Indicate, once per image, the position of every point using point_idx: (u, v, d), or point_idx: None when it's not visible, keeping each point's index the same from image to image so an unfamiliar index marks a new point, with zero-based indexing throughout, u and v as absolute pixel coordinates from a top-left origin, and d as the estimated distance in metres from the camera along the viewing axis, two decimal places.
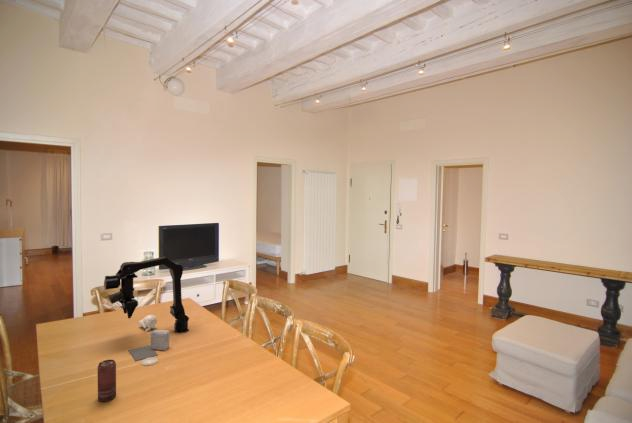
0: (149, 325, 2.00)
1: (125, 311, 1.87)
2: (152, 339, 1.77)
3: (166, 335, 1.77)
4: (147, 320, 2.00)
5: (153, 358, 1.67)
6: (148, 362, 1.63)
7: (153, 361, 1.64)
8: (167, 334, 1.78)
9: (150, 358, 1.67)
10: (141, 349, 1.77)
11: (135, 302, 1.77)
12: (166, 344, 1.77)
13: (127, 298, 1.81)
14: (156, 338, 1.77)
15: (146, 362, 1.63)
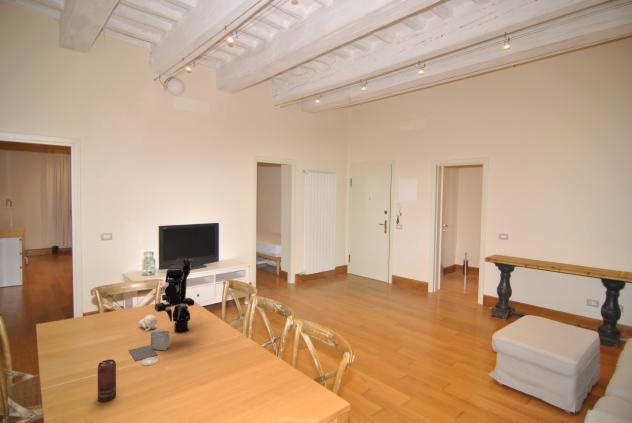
0: (149, 325, 2.00)
1: (178, 317, 1.84)
2: (152, 339, 1.77)
3: (166, 335, 1.77)
4: (147, 320, 2.00)
5: (153, 358, 1.67)
6: (148, 362, 1.63)
7: (153, 361, 1.64)
8: (167, 334, 1.78)
9: (150, 358, 1.67)
10: (141, 349, 1.77)
11: (157, 307, 1.75)
12: (166, 344, 1.77)
13: (169, 302, 1.81)
14: (156, 338, 1.77)
15: (146, 362, 1.63)
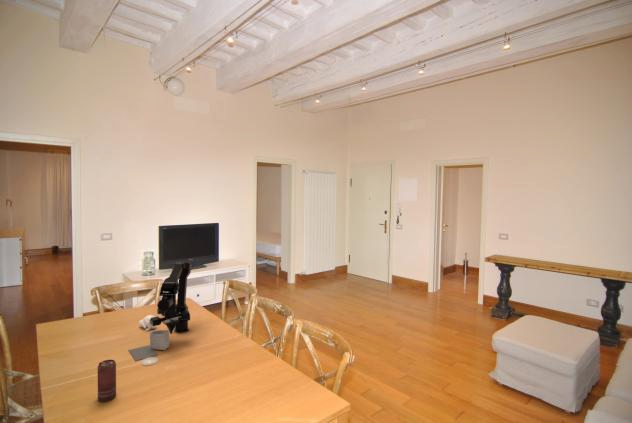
0: (149, 325, 2.00)
1: None
2: (151, 339, 1.77)
3: (165, 335, 1.77)
4: (147, 320, 2.00)
5: (153, 358, 1.67)
6: (148, 362, 1.63)
7: (153, 361, 1.64)
8: (166, 334, 1.78)
9: (150, 358, 1.67)
10: (141, 349, 1.77)
11: (152, 321, 1.74)
12: (165, 344, 1.77)
13: (164, 316, 1.80)
14: (155, 338, 1.76)
15: (146, 362, 1.63)
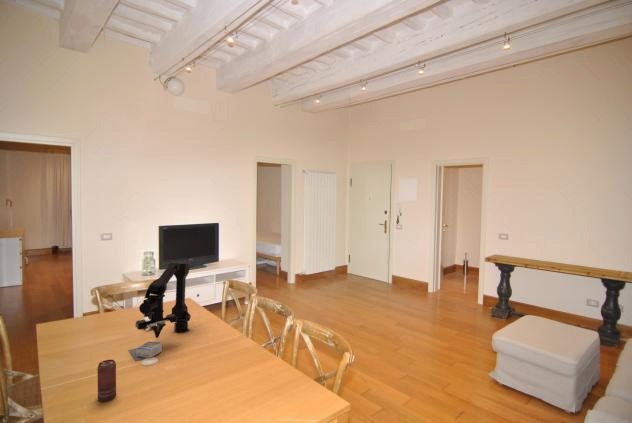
0: None
1: None
2: None
3: (152, 355, 1.68)
4: (147, 320, 2.00)
5: (153, 358, 1.67)
6: (148, 362, 1.63)
7: (153, 361, 1.64)
8: (151, 353, 1.68)
9: (150, 358, 1.67)
10: None
11: (137, 325, 1.70)
12: (158, 351, 1.72)
13: None
14: None
15: (146, 362, 1.63)
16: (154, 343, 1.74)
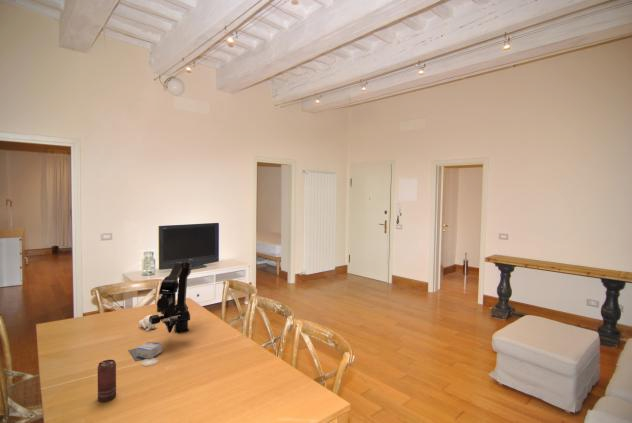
0: (149, 325, 2.00)
1: None
2: None
3: (151, 355, 1.67)
4: (147, 320, 2.00)
5: (153, 359, 1.66)
6: (148, 363, 1.62)
7: (153, 362, 1.63)
8: (151, 353, 1.67)
9: (150, 359, 1.66)
10: None
11: (151, 320, 1.74)
12: (158, 352, 1.72)
13: (163, 314, 1.80)
14: None
15: (146, 363, 1.62)
16: (154, 344, 1.73)
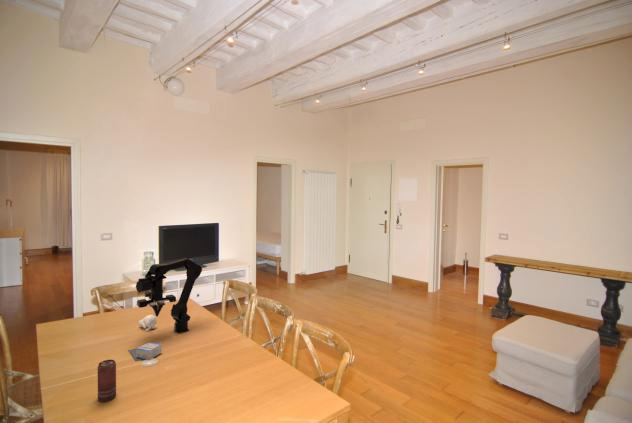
0: (149, 325, 2.00)
1: None
2: None
3: (151, 356, 1.67)
4: (147, 320, 2.00)
5: (153, 359, 1.66)
6: (148, 363, 1.62)
7: (153, 362, 1.63)
8: (151, 354, 1.67)
9: (150, 359, 1.66)
10: None
11: (139, 303, 1.81)
12: (158, 352, 1.71)
13: (151, 298, 1.87)
14: None
15: (146, 363, 1.62)
16: (154, 344, 1.73)
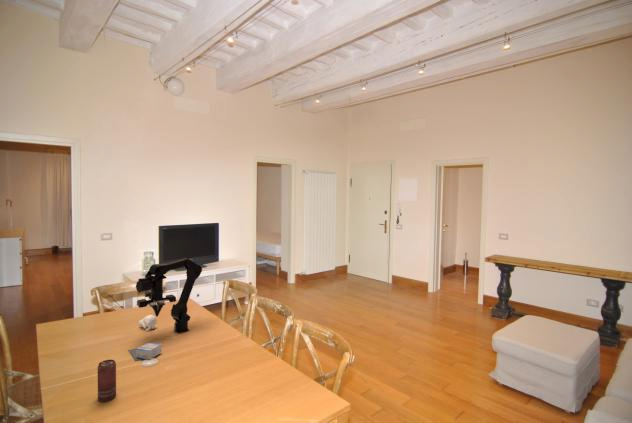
0: (149, 325, 2.00)
1: None
2: None
3: (151, 356, 1.66)
4: (147, 320, 2.00)
5: (153, 359, 1.66)
6: (148, 363, 1.62)
7: (153, 362, 1.63)
8: (151, 354, 1.66)
9: (150, 359, 1.66)
10: None
11: (139, 303, 1.81)
12: (157, 352, 1.71)
13: (151, 298, 1.87)
14: None
15: (146, 363, 1.62)
16: (154, 344, 1.72)
